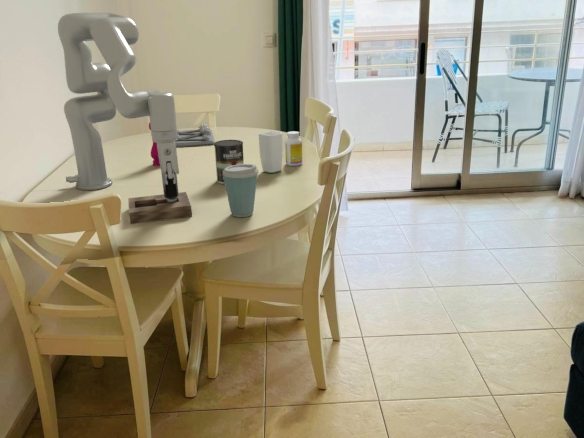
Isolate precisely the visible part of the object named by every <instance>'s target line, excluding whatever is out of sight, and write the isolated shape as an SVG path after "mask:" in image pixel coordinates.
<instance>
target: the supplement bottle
mask: <svg viewBox="0 0 584 438" xmlns="http://www.w3.org/2000/svg"><path fill="white" fill-rule="evenodd" d="M286 135H287V138H286V139H285V142H284V145H285V149H284V150H285V164H286V165H287V166H290V167H297V166H301V165H302V164H303V141H302V139H301V138H300V131H295V130H293V131H292V130H291V131H287V133H286Z"/></svg>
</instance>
